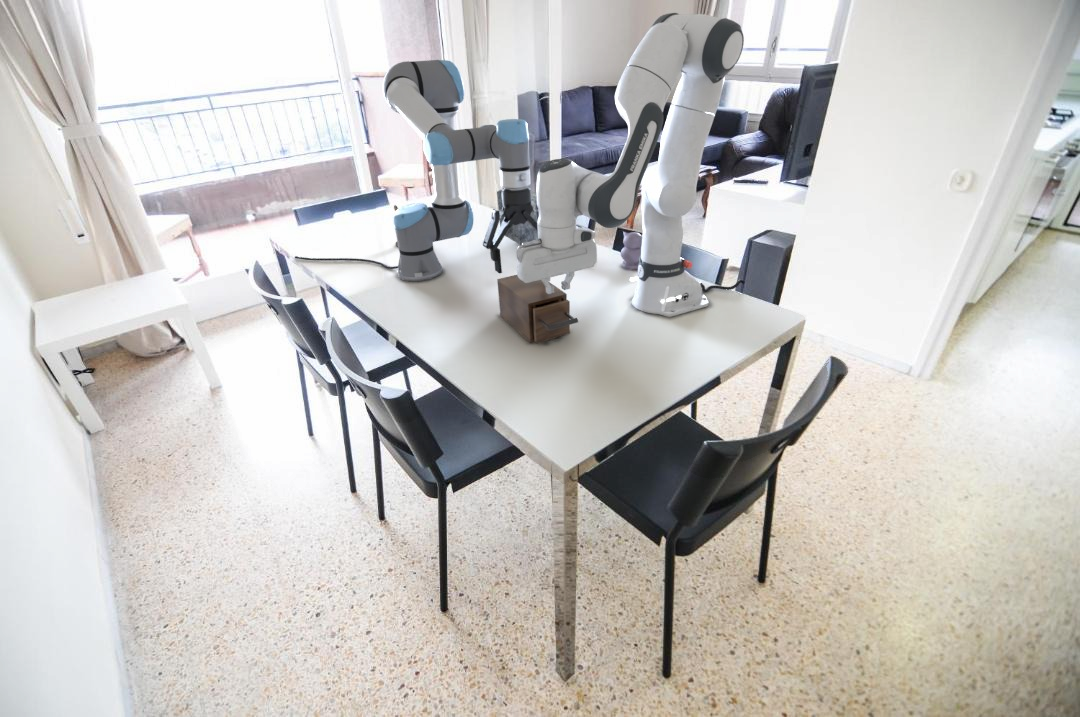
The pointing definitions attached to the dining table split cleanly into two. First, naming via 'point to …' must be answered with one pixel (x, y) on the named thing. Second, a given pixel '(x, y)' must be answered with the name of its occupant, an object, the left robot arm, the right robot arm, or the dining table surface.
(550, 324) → the drawer
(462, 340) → the dining table surface
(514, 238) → the concrete block
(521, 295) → the cabinet
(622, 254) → the cat figurine
